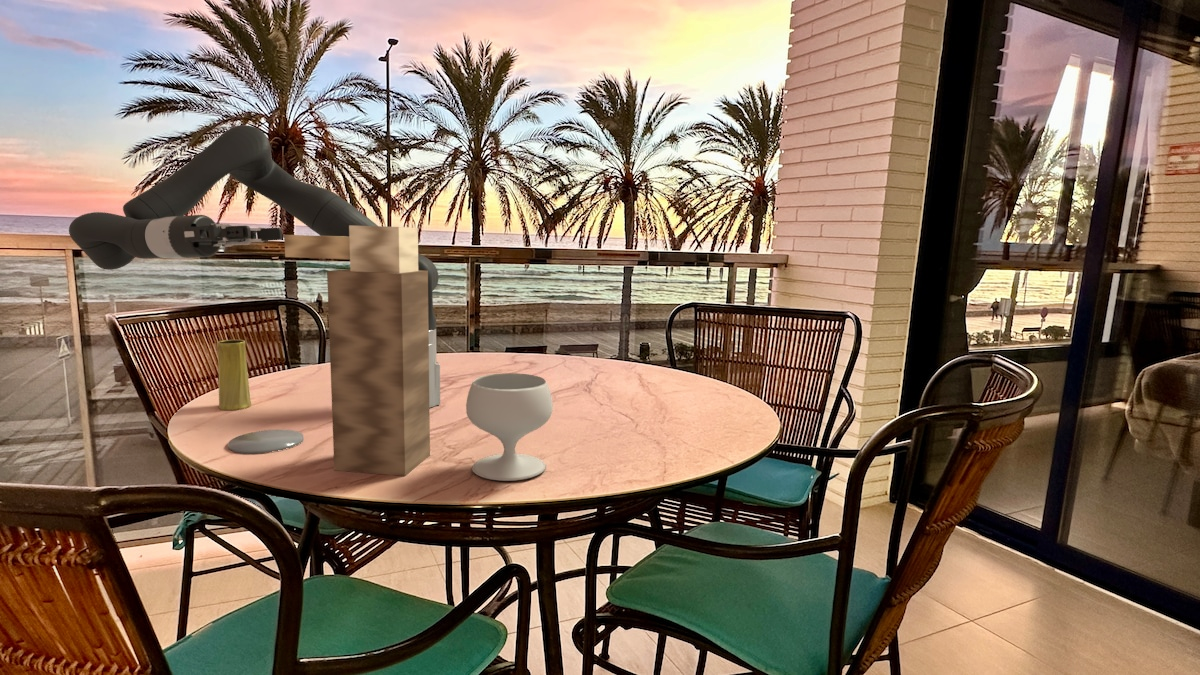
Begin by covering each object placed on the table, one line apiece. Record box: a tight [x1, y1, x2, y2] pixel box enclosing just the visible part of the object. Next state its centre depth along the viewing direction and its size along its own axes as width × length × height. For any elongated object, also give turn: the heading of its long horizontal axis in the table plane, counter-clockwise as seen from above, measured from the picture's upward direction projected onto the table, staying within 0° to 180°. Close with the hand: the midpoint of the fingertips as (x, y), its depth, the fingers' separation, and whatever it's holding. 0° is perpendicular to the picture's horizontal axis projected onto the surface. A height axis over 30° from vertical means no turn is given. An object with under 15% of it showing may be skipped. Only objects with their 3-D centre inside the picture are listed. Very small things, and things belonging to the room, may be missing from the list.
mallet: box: [283, 225, 419, 273], centre depth 102 cm, size 20×7×7 cm, turn 82°
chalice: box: [465, 372, 554, 482], centre depth 104 cm, size 14×14×15 cm
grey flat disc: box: [227, 428, 304, 455], centre depth 115 cm, size 12×12×1 cm
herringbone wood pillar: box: [326, 268, 431, 477], centre depth 104 cm, size 12×10×32 cm
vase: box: [216, 339, 252, 411], centre depth 136 cm, size 6×6×14 cm
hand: (265, 232), depth 112 cm, fingers open, 8 cm apart
